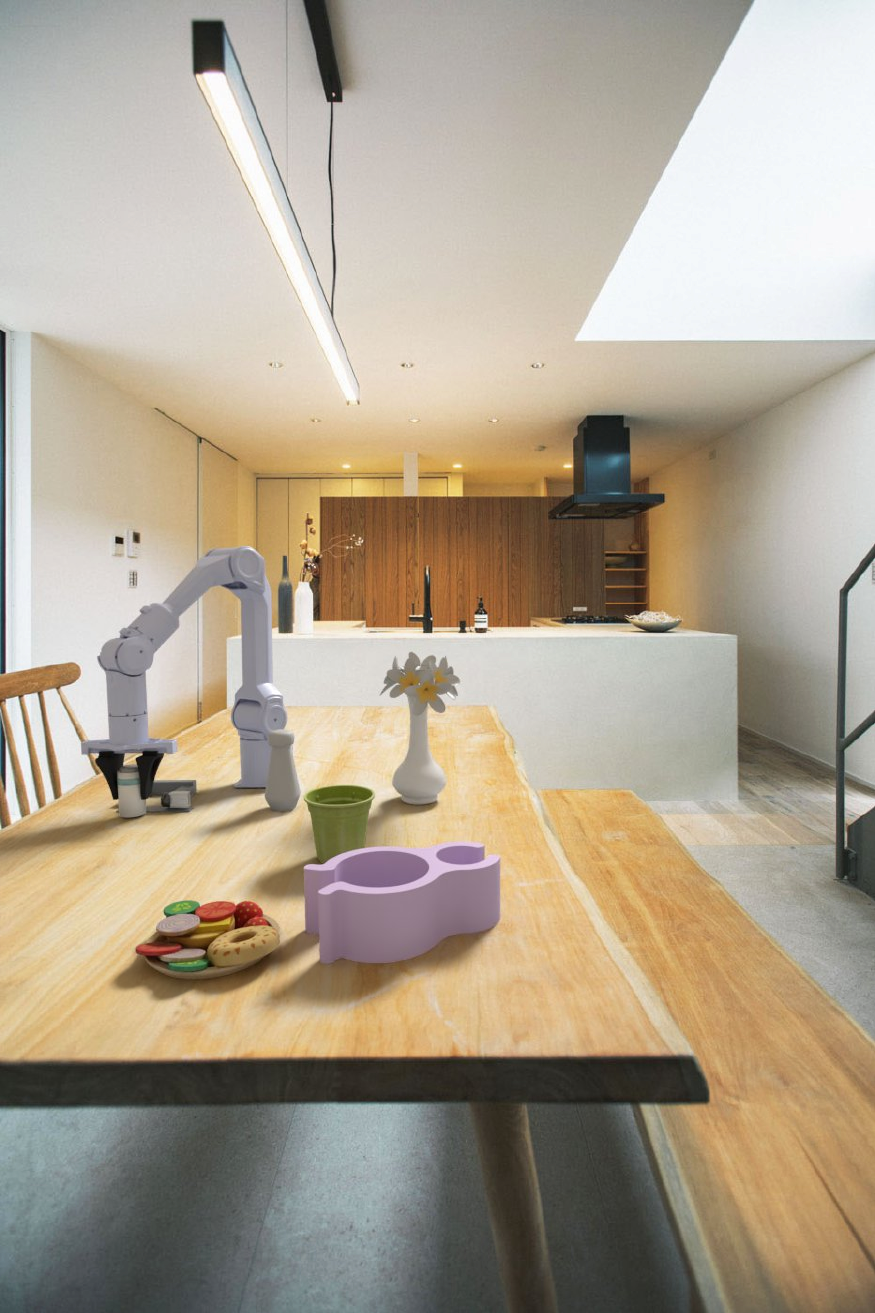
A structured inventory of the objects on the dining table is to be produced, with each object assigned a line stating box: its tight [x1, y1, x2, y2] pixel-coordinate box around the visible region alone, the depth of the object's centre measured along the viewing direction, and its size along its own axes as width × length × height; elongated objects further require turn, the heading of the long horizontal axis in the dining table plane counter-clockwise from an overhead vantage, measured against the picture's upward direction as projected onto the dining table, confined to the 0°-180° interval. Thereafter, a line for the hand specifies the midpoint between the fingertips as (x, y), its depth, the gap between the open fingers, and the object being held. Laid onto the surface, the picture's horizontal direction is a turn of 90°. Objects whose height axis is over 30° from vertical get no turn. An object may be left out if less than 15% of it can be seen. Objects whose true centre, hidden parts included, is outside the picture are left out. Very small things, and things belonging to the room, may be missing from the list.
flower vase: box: [379, 651, 461, 806], centre depth 117 cm, size 13×18×25 cm
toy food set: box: [135, 899, 282, 980], centre depth 68 cm, size 13×13×3 cm
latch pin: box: [160, 791, 192, 808], centre depth 114 cm, size 4×2×2 cm, turn 89°
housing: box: [115, 779, 197, 813], centre depth 118 cm, size 13×12×2 cm
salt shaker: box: [264, 728, 302, 813], centre depth 114 cm, size 6×6×13 cm
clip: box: [303, 840, 501, 965], centre depth 72 cm, size 20×12×7 cm, turn 113°
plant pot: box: [303, 784, 376, 864], centre depth 92 cm, size 9×9×9 cm
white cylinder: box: [117, 763, 147, 818], centre depth 110 cm, size 4×4×8 cm
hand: (131, 798), depth 110 cm, fingers closed on white cylinder, 4 cm apart
